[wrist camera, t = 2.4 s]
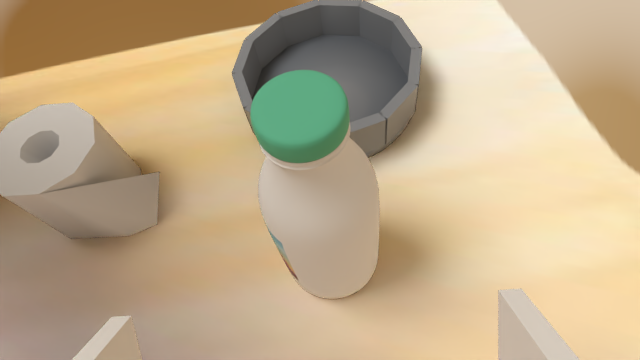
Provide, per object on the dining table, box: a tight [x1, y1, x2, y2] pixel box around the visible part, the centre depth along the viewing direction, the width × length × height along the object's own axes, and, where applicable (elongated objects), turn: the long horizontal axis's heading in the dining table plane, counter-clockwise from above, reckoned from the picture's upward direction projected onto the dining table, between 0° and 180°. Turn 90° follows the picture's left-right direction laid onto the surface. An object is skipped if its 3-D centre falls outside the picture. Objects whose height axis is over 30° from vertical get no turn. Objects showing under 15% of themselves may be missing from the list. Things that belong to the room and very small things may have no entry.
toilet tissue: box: [0, 103, 159, 239], centre depth 38 cm, size 9×13×9 cm
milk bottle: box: [250, 70, 380, 299], centre depth 28 cm, size 8×8×20 cm
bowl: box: [232, 0, 422, 157], centre depth 43 cm, size 18×18×5 cm
